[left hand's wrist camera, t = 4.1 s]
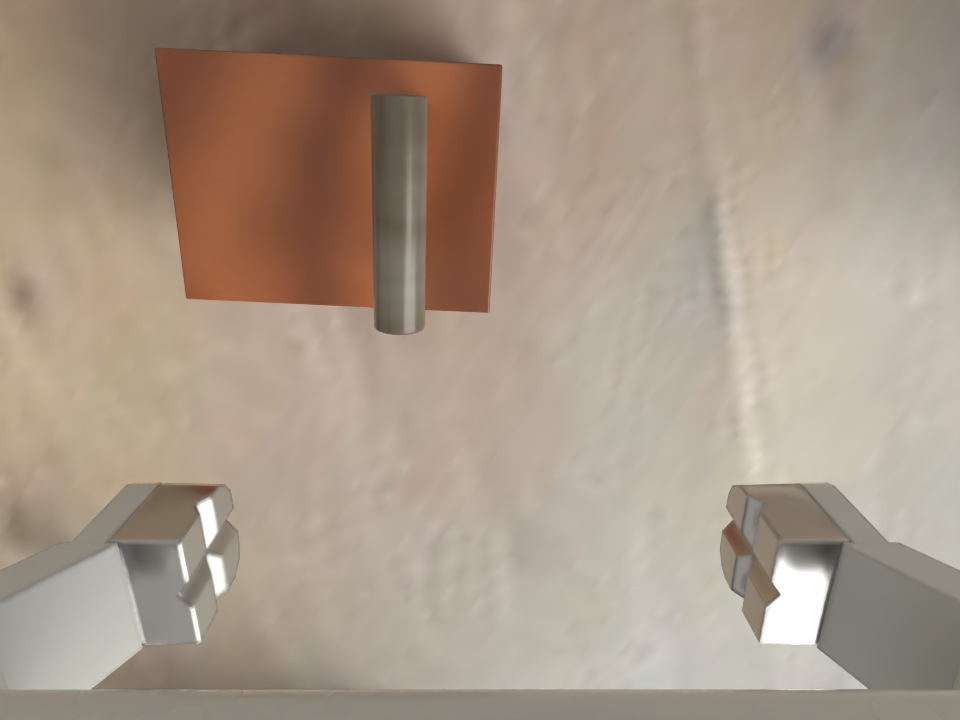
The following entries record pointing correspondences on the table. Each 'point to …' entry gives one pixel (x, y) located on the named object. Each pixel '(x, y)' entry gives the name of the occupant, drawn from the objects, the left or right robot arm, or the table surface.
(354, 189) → the lid
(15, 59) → the table surface
